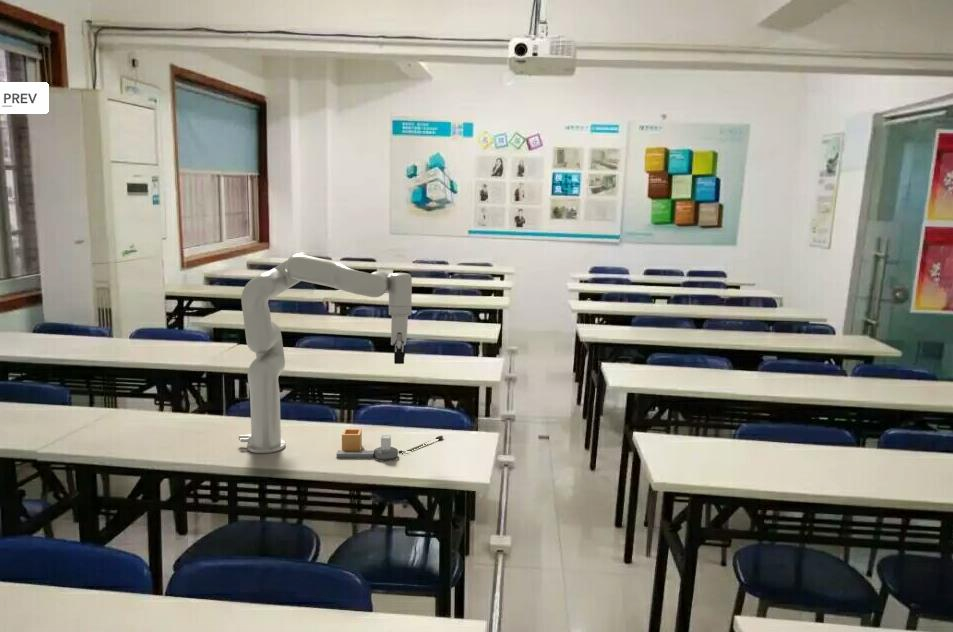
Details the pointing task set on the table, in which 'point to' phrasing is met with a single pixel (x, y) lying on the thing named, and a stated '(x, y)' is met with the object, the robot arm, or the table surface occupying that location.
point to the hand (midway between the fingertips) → (399, 360)
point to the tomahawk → (420, 445)
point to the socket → (352, 439)
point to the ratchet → (379, 453)
